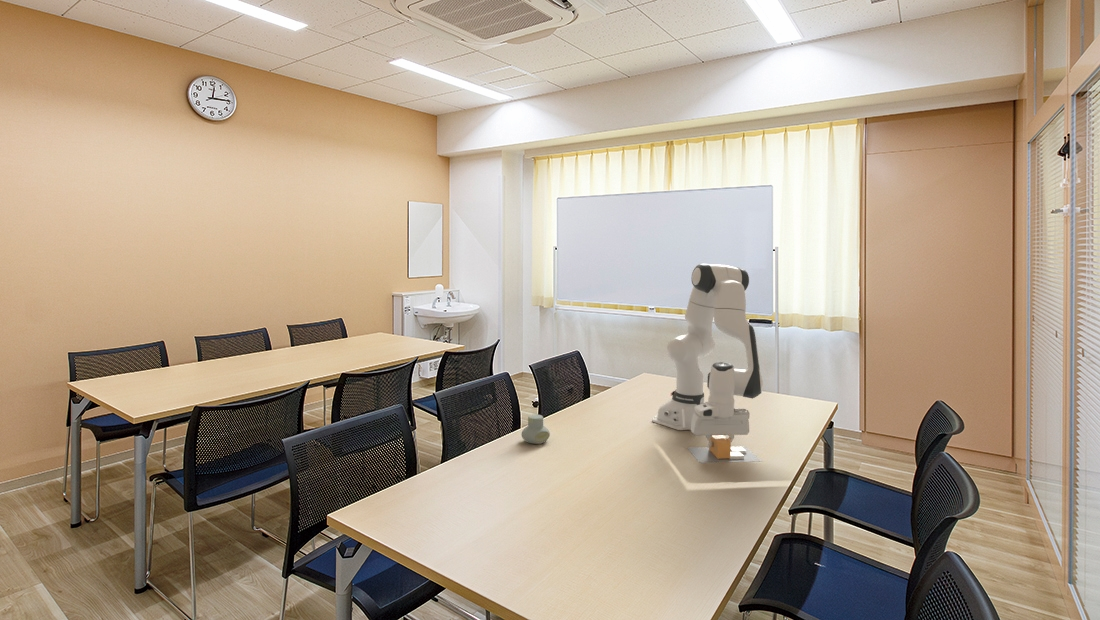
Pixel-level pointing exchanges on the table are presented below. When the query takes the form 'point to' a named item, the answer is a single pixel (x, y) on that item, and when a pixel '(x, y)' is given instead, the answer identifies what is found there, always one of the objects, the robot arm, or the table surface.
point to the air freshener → (535, 430)
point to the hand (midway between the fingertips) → (719, 446)
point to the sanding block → (720, 446)
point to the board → (708, 457)
